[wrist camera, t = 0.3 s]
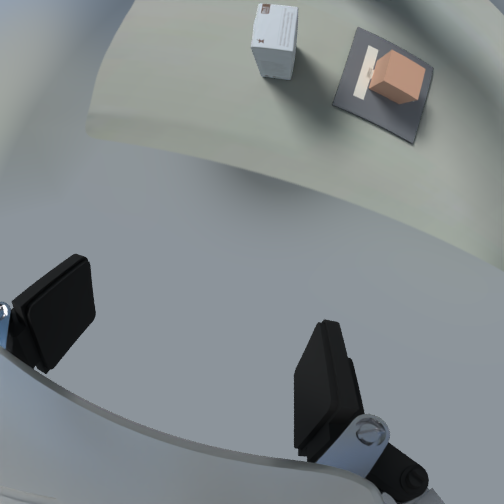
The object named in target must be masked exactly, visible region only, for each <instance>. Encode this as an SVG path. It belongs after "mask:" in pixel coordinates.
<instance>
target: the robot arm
mask: <svg viewBox="0 0 504 504" xmlns="http://www.w3.org/2000/svg"><path fill="white" fill-rule="evenodd" d="M12 304H13V307H14V308H13V309H12V310H11V308H10V306H9V305H8V304H7V303H5V302H0V504H445V503H444V502H443V501H442V500H441V498H440V497H439V496H438V495H437V493H436V492H435V491H434V489H433V488H431V489H430V490H429V489H428V488H427V486H428V481H429V479H428V474H427V472H426V471H425V469H424V468H423V467H422V466H420V465H419V464H417V463H416V462H415V461H413V460H412V459H410V458H409V457H408V456H406V455H405V454H403V453H402V452H401V451H399V450H398V449H397V448H395V447H394V446H393V445H391V444H390V443H389V442H388V441H389V438H390V431H389V429H388V426H387V425H386V423H385V422H384V421H383V420H382V419H381V418H379V417H377V416H375V415H371V414H364V409H363V404H362V399H361V395H360V390H359V386H358V382H357V377H356V374H355V369H354V366H353V362H352V359H351V358H348V357H347V352H346V348H345V344H344V340H343V336H342V332H341V328H340V325H339V323H338V322H335V321H330V320H323V321H322V323H320V322H318V324H317V325H316V327H315V329H314V331H313V334H312V336H311V338H310V340H309V342H308V345H307V347H306V349H305V351H304V353H303V355H302V357H301V359H300V361H299V363H298V365H297V367H296V370H295V373H294V447H295V448H298V456H307V462H304V461H295V460H288V459H281V458H273V457H266V456H259V455H253V454H248V453H242V452H237V451H232V450H227V449H222V448H217V447H213V446H209V445H205V444H201V443H197V442H194V441H190V440H186V439H183V438H179V437H176V436H173V435H170V434H167V433H164V432H161V431H158V430H155V429H152V428H149V427H146V426H144V425H141V424H138V423H136V422H133V421H131V420H128V419H126V418H123V417H121V416H119V415H116V414H114V413H112V412H110V411H108V410H105V409H103V408H101V407H99V406H97V405H95V404H93V403H91V402H89V401H87V400H85V399H83V398H81V397H79V396H77V395H75V394H74V393H71V392H70V391H68V390H66V389H65V388H63V387H61V386H59V385H57V384H56V383H54V382H52V381H51V380H50V379H48V378H46V377H45V376H43V375H42V374H40V373H39V372H37V371H35V370H34V367H35V366H36V367H37V369H39V370H40V371H42V372H44V373H45V374H47V372H48V371H49V370H50V369H53V368H54V367H55V366H56V365H57V364H58V362H59V361H60V360H61V359H62V357H63V356H64V355H65V354H66V352H67V351H68V350H69V349H70V347H71V346H72V345H73V344H74V343H75V341H76V340H77V339H78V338H79V337H80V335H81V334H82V333H83V332H84V331H85V330H86V328H87V327H88V326H89V325H90V324H91V323H92V322H93V320H94V318H95V315H96V312H95V305H94V297H93V288H92V279H91V269H90V263H89V262H88V259H87V258H86V257H84V256H81V255H78V254H73V255H72V256H70V257H69V258H68V259H66V260H65V261H63V262H62V263H61V264H59V265H58V266H57V267H55V268H54V269H52V270H51V271H50V272H48V273H47V274H46V275H44V276H43V277H42V278H40V279H39V280H38V281H36V282H35V283H34V284H33V285H32V286H30V287H29V288H27V289H26V290H25V291H24V292H22V294H20V295H19V296H18V297H16V298H15V299H14V300H13V301H12Z"/></svg>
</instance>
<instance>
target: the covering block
mask: <svg viewBox="0 0 504 504" xmlns="http://www.w3.org/2000/svg"><path fill="white" fill-rule="evenodd" d="M424 74H425V68H423V67H422V66H420V65H418V64H417V63H415V62H413V61H412V60H410V59H408V58H407V57H405V56H403V55H401V54H399V53H398V52H396V51H394V50H391V51H390V52H388V53H387V54H385V55H384V56H383V57H381V58H380V59H379V60H377V62H376V66H375V69H374V73H373V76H372V79H371V82H370V86H369V89H370V90H372V91H374V92H376V93H378V94H380V95H382V96H384V97H386V98H388V99H390V100H392V101H394V102H396V103H398V104H402V103H407V102H411V101H415V100H418V97H419V94H420V90H421V86H422V82H423V78H424Z"/></svg>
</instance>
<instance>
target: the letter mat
mask: <svg viewBox="0 0 504 504" xmlns="http://www.w3.org/2000/svg"><path fill="white" fill-rule="evenodd" d="M391 50H394V51H396V52H398V53H399V54H401V55H403V56H405V57H407V58H408V59H410V60H412V61H413V62H415V63H417V64H418V65H420V66H422V67H423V68H425V74H424V78H423V82H422V86H421V90H420V94H419V97H418V100H415V101H411V102H407V103H402V104H398V103H396V102H394V101H392V100H390V99H388V98H386V97H384V96H382V95H380V94H378V93H376V92H374V91H372V90H370V89H369V86H370V82H371V79H372V76H373V73H374V69H375V66H376V62H377V60H379V59H380V58H381V57H383V56H384V55H385V54H387V53H388V52H390V51H391ZM432 72H433V67H432V66H430V65H429V64H427V63H426V62H424V61H422V60H421V59H419V58H417V57H416V56H414V55H413V54H411V53H409V52H407V51H406V50H404V49H402V48H400V47H398V46H397V45H395V44H393V43H391V42H389V41H387V40H385V39H383V38H381V37H379V36H377V35H375V34H373V33H371V32H368V31H366V30H364V29H362V28H359V27H358V28H357V30H356V33H355V36H354V40H353V43H352V46H351V49H350V52H349V55H348V58H347V62H346V65H345V68H344V71H343V74H342V77H341V80H340V83H339V86H338V89H337V92H336V95H335V98H334V101H333V104H332V105H334V106H336V107H338V108H341V109H343V110H346V111H348V112H350V113H352V114H355V115H357V116H359V117H361V118H364V119H366V120H368V121H370V122H372V123H374V124H376V125H378V126H380V127H382V128H384V129H386V130H388V131H390V132H392V133H394V134H396V135H397V136H399V137H401V138H403V139H405V140H406V141H408V142H410V143H413V141H414V138H415V135H416V132H417V129H418V126H419V122H420V119H421V115H422V112H423V108H424V105H425V101H426V97H427V93H428V89H429V85H430V81H431V77H432Z"/></svg>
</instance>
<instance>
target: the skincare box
mask: <svg viewBox="0 0 504 504" xmlns="http://www.w3.org/2000/svg"><path fill="white" fill-rule="evenodd" d="M297 28H298V7H292V6H284V5H274V4H262V3H259V4H258V9H257V14H256V19H255V21H254V26H253V29H254V30H253V35H252V42H251V49H252V52H253V55H254V57H255V60H256V63H257V66H258V68H259V71H260V74H261V76H263V77H271V78H278V79H285V80H291V77H292V73H293V68H294V61H295V53H296V42H297Z"/></svg>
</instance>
